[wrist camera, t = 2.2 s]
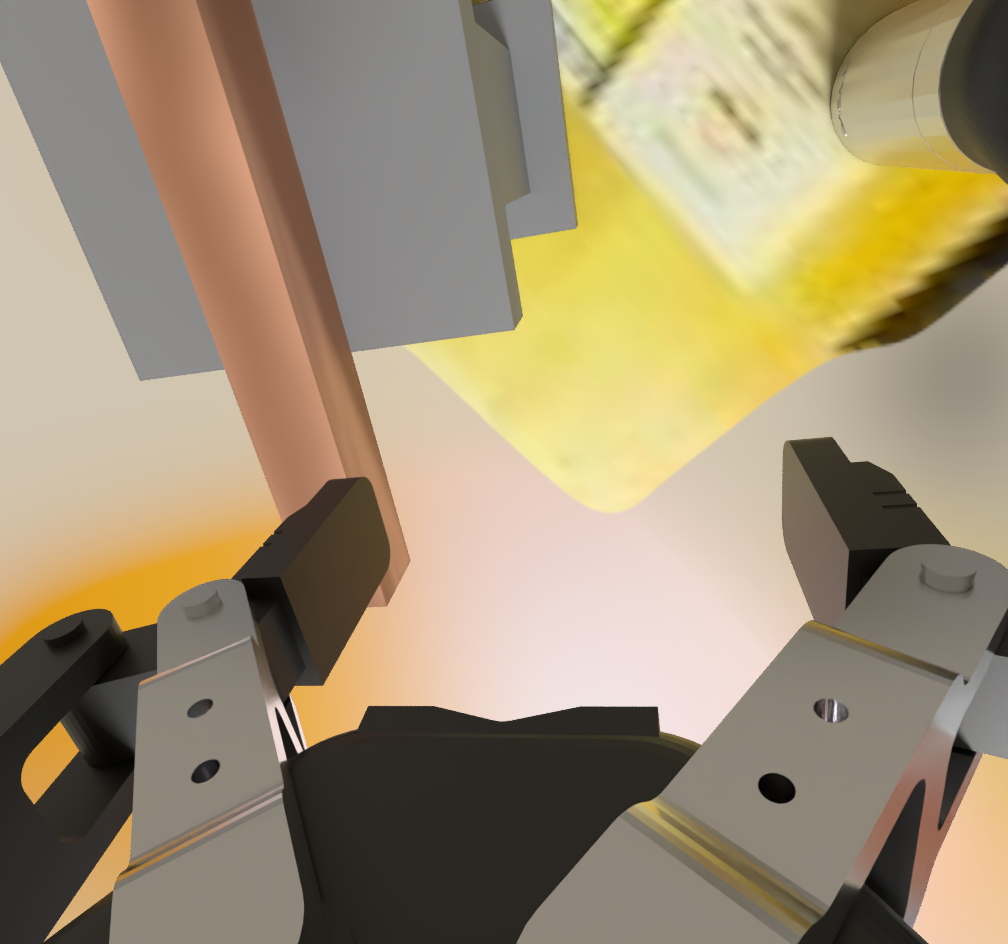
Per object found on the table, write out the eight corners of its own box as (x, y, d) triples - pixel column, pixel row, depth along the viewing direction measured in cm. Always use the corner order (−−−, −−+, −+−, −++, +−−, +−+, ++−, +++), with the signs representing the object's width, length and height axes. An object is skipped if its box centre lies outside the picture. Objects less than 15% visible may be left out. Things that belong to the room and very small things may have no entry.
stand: (550, -8, 43) (408, -294, 15) (577, 225, 49) (514, 329, 21) (348, 44, 47) (-75, -110, 18) (398, 256, 53) (139, 380, 25)
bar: (219, -112, 17) (145, -159, 15) (410, 561, 27) (386, 606, 24) (126, -82, 18) (40, -121, 15) (345, 564, 27) (314, 609, 25)
